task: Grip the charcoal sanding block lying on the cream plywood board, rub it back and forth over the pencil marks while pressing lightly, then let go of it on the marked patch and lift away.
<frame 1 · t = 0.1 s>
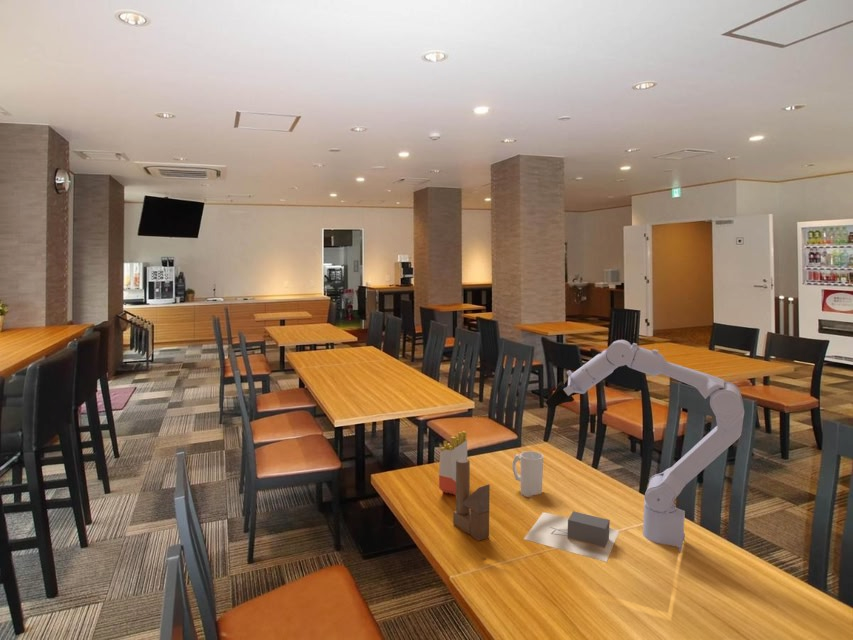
hand: (552, 401, 141), 32 cm above the table, tool tilted 50°, fingers open, 7 cm apart
french fries container: (453, 490, 160), on the table
mug: (526, 492, 159), on the table
board: (571, 538, 132), on the table
sanding block: (588, 538, 130), point 1 cm above the table, touching board
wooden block: (470, 531, 136), on the table
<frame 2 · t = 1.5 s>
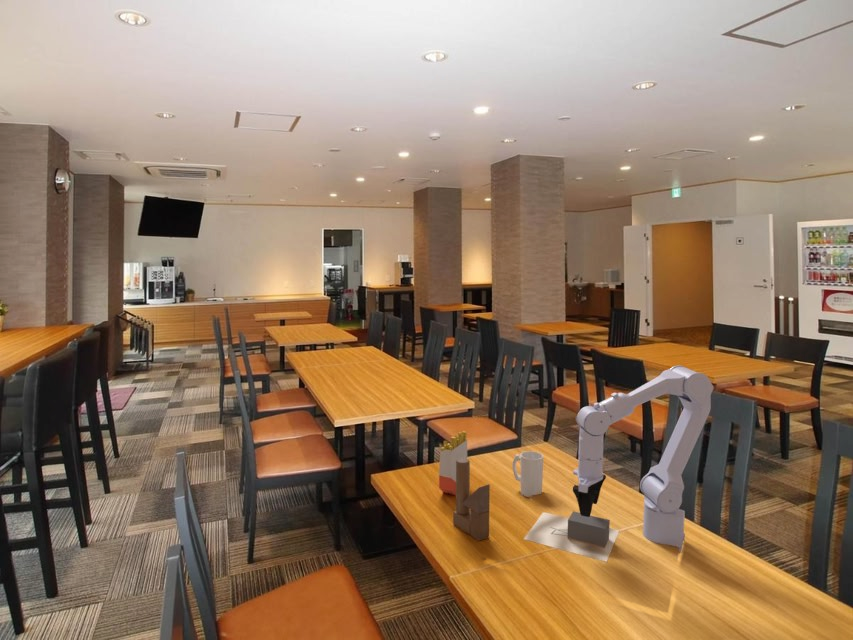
hand: (588, 509, 129), 9 cm above the table, tool pointing down, fingers open, 7 cm apart
nothing on the table moved.
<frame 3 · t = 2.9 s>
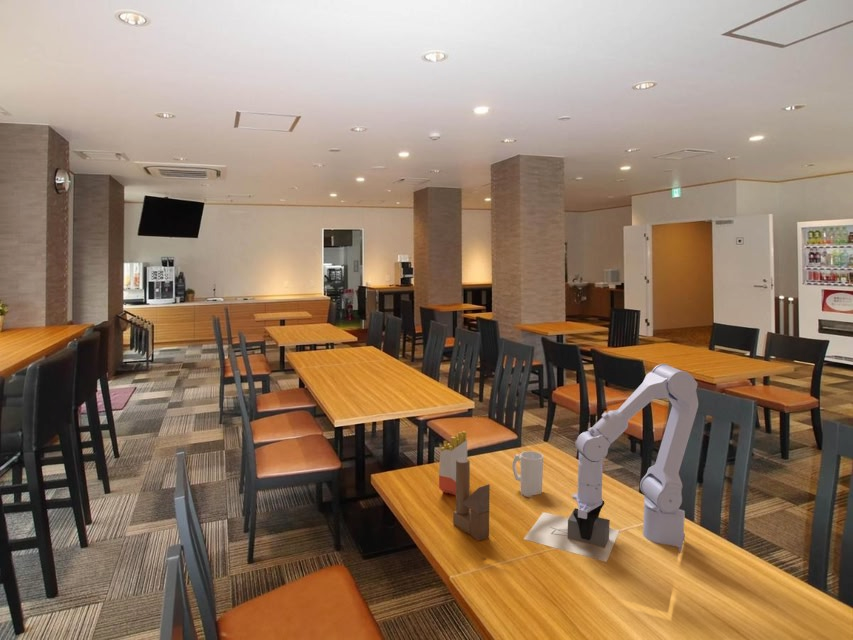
hand: (588, 533, 130), 2 cm above the table, tool pointing down, fingers closed on sanding block, 5 cm apart
sanding block: (588, 538, 130), point 1 cm above the table, touching board, gripper
everything else where it was.
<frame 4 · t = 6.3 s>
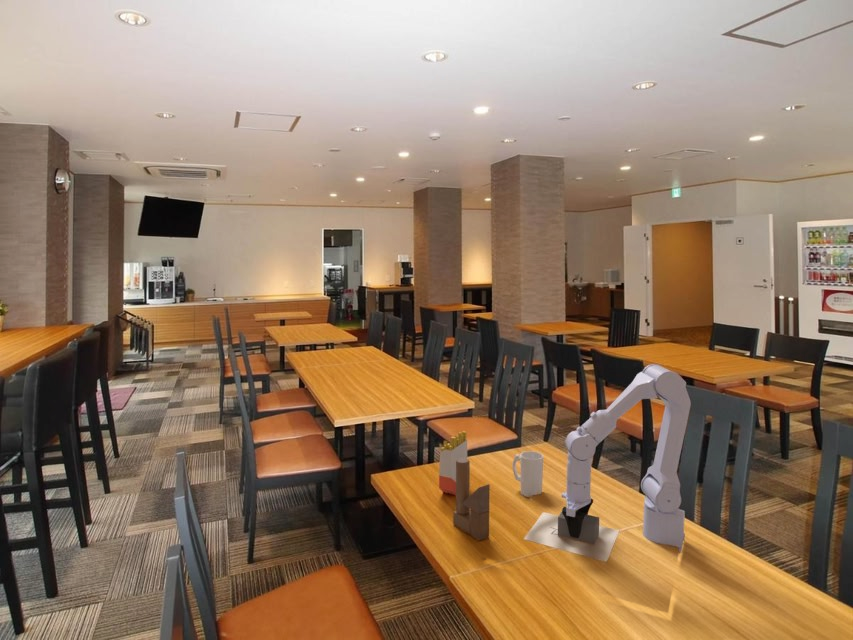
hand: (577, 531, 131), 2 cm above the table, tool pointing down, fingers closed on sanding block, 5 cm apart
sanding block: (578, 536, 131), point 1 cm above the table, touching gripper
everything else where it was.
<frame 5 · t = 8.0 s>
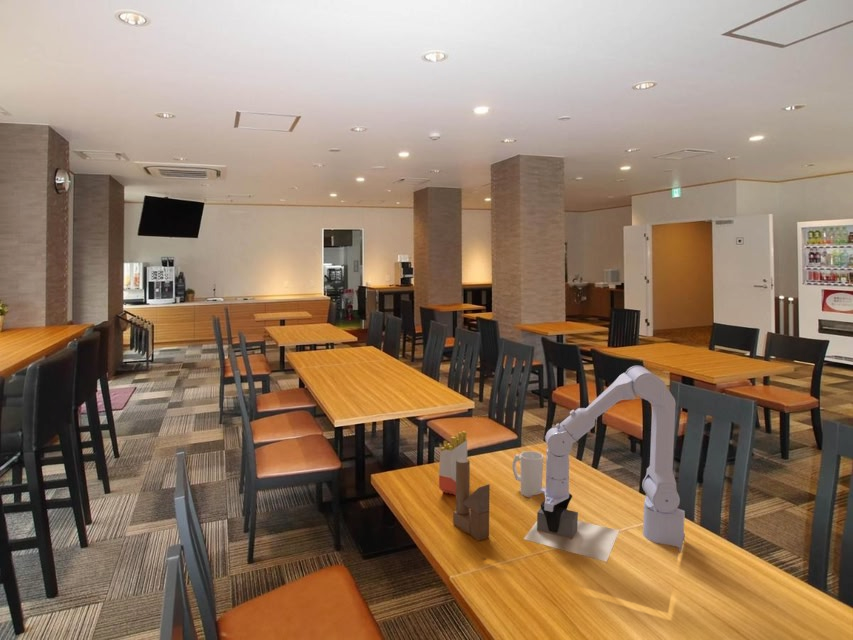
hand: (556, 526, 134), 2 cm above the table, tool pointing down, fingers closed on sanding block, 5 cm apart
sanding block: (557, 530, 134), point 1 cm above the table, touching gripper
everything else where it was.
when the fingers open (2 cm above the table, at t = 9.5 s): sanding block stays where it is, resting on board.
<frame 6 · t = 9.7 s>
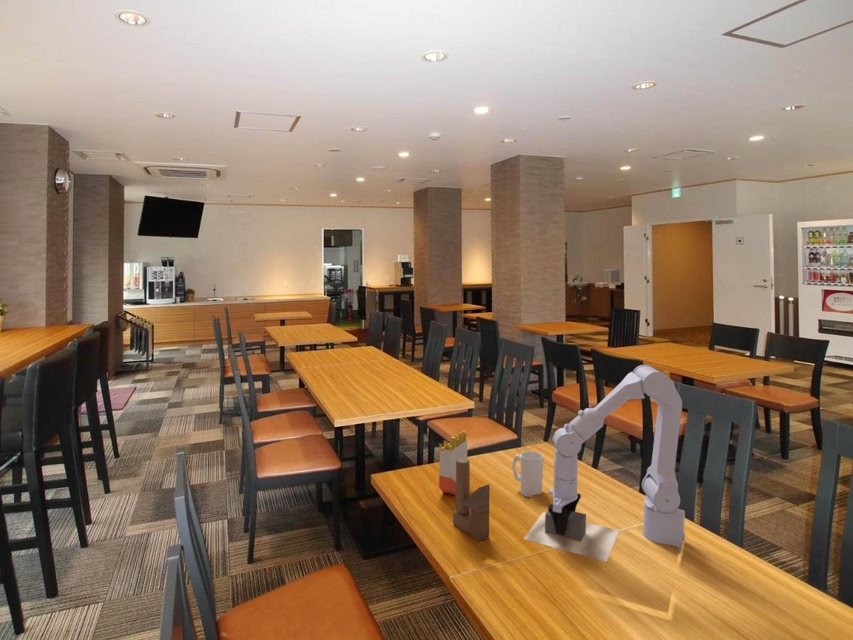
hand: (564, 527, 133), 2 cm above the table, tool pointing down, fingers open, 6 cm apart
sanding block: (565, 532, 133), point 1 cm above the table, touching board
everything else where it was.
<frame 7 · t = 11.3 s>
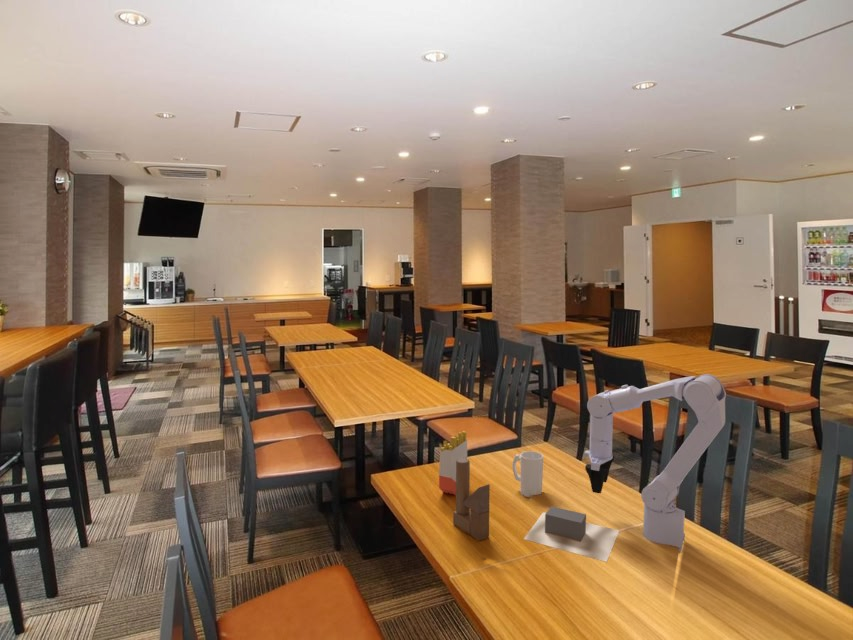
hand: (599, 486, 140), 9 cm above the table, tool pointing down, fingers open, 7 cm apart
nothing on the table moved.
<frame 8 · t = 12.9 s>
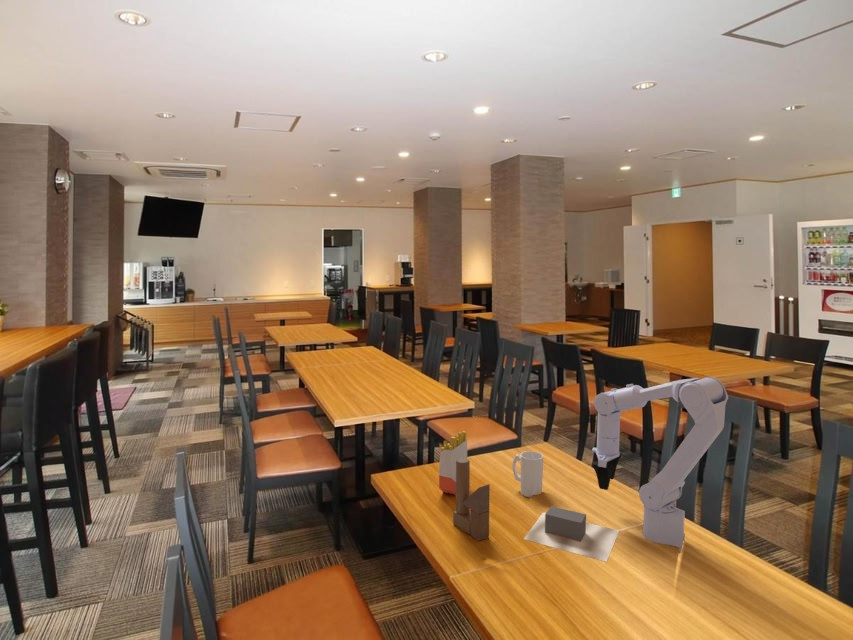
hand: (606, 483, 142), 9 cm above the table, tool pointing down, fingers open, 7 cm apart
nothing on the table moved.
at the end: sanding block 0.6 cm from the target spot, point 1.0 cm above the table; the gripper is holding nothing; sanding block tilted 0° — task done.
